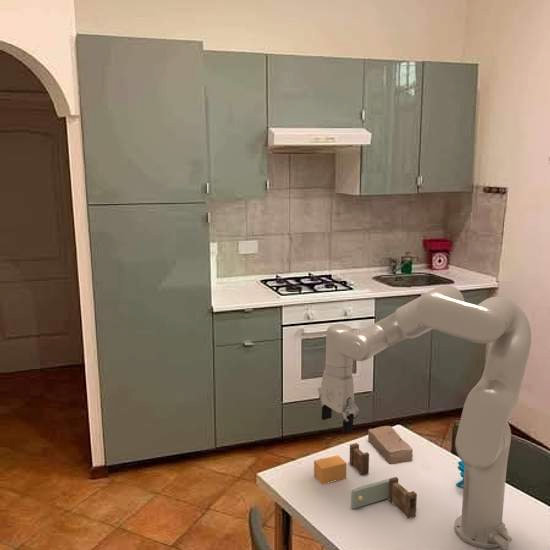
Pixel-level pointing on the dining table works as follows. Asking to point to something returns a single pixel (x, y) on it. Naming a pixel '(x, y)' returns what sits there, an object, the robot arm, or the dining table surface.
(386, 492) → the door
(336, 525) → the dining table surface
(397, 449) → the brick
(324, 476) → the orange rectangular block
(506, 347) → the robot arm
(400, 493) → the wall frame
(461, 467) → the blue green toy
